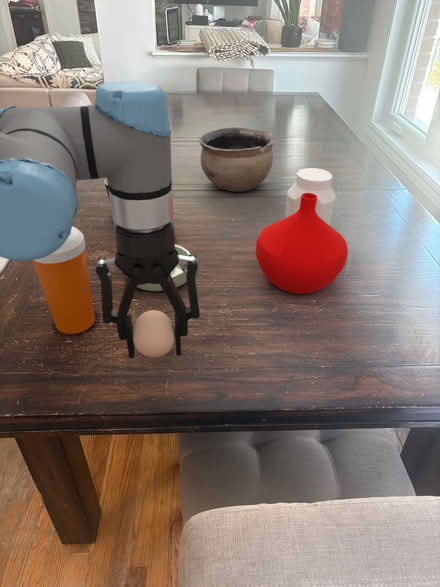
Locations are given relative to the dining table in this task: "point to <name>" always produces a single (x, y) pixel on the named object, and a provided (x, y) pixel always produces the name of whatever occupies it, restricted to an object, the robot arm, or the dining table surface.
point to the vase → (301, 250)
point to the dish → (176, 274)
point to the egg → (153, 334)
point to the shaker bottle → (67, 285)
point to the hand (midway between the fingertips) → (155, 350)
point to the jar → (316, 184)
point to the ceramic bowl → (236, 157)
